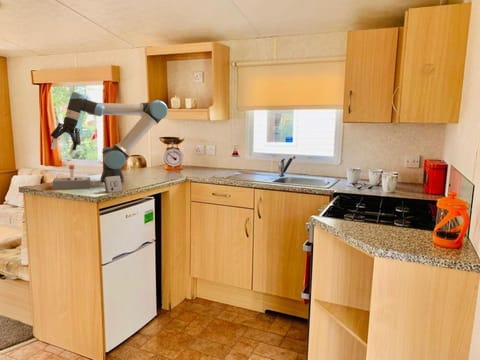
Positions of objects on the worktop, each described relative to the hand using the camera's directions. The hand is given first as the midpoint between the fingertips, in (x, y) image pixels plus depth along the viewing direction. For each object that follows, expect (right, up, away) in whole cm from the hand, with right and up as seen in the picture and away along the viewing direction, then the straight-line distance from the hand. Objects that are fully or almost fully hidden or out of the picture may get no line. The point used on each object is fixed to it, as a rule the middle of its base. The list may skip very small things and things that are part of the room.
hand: (61, 152), depth 218 cm
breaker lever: (+5, -17, +2) cm, 18 cm away
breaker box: (+5, -21, +2) cm, 22 cm away
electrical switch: (+33, -24, -7) cm, 42 cm away
